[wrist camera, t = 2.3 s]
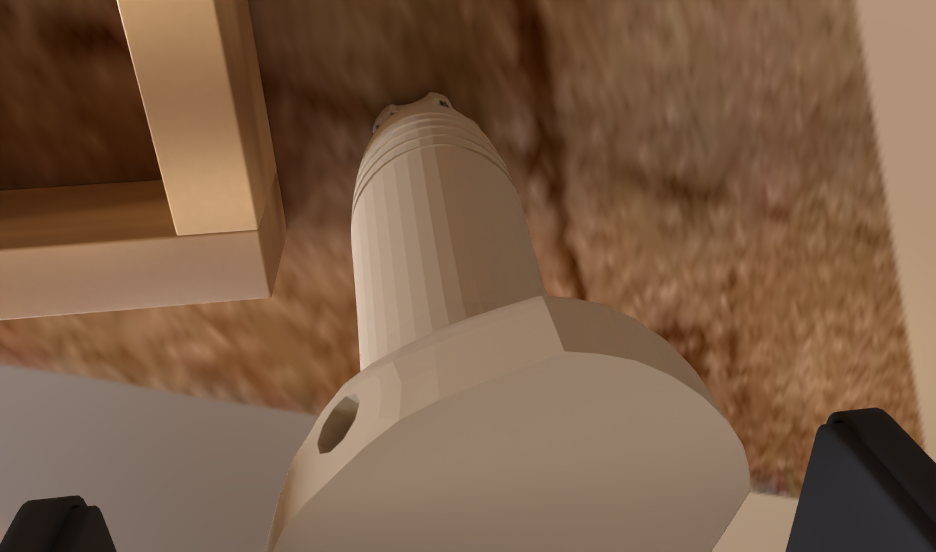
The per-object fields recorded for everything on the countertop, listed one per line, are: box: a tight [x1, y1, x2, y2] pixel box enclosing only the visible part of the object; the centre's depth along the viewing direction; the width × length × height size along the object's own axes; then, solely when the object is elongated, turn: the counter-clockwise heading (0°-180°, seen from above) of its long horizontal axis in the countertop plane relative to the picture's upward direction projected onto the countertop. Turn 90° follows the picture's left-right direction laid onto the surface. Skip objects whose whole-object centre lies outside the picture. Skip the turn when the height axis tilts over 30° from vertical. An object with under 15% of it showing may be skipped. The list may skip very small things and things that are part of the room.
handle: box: [265, 92, 750, 552], centre depth 15 cm, size 5×6×15 cm
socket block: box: [0, 0, 287, 320], centre depth 18 cm, size 11×11×4 cm
